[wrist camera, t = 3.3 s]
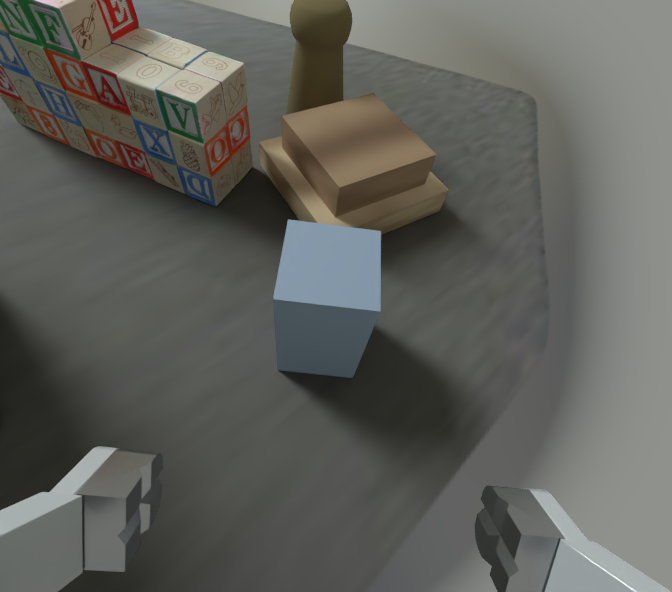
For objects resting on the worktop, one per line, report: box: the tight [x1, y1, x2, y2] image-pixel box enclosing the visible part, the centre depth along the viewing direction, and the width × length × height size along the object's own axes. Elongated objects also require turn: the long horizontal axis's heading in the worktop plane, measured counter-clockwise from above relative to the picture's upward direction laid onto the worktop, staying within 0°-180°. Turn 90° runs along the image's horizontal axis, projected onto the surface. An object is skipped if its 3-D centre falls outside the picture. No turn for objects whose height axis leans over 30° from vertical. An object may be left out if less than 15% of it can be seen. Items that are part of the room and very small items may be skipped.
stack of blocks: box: [0, 0, 253, 207], centre depth 30 cm, size 21×6×12 cm, turn 66°
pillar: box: [273, 219, 381, 378], centre depth 23 cm, size 5×5×9 cm
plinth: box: [259, 93, 449, 235], centre depth 33 cm, size 12×12×6 cm
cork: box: [286, 0, 352, 115], centre depth 35 cm, size 6×6×11 cm
